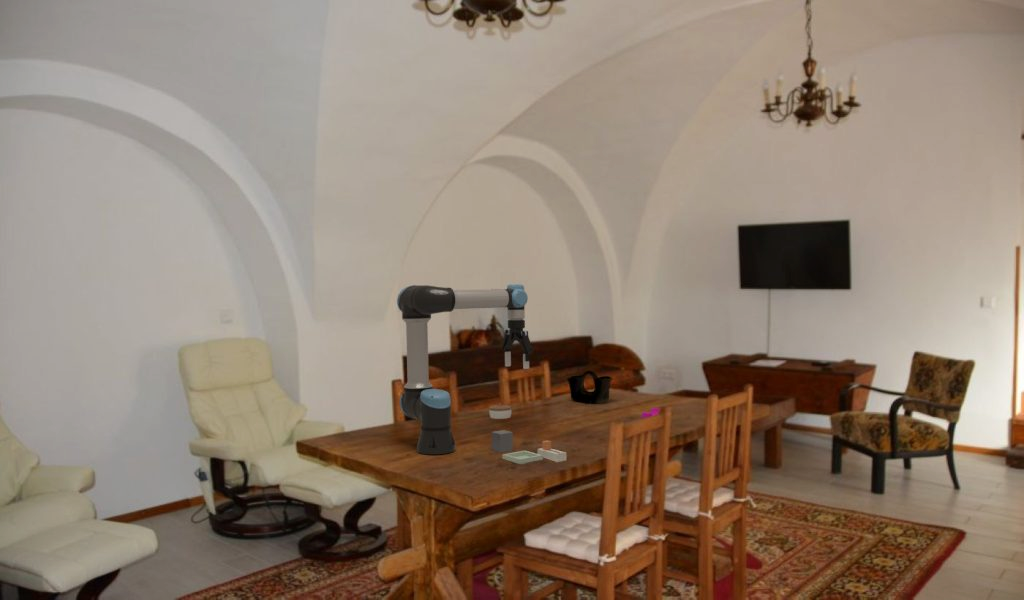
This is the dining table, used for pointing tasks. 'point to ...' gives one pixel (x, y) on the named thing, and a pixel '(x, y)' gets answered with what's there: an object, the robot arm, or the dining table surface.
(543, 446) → the breaker switch
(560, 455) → the breaker housing
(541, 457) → the tray
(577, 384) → the black handbag
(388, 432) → the dining table surface
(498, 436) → the grey rectangular block
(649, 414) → the toy block
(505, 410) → the lidded jar
